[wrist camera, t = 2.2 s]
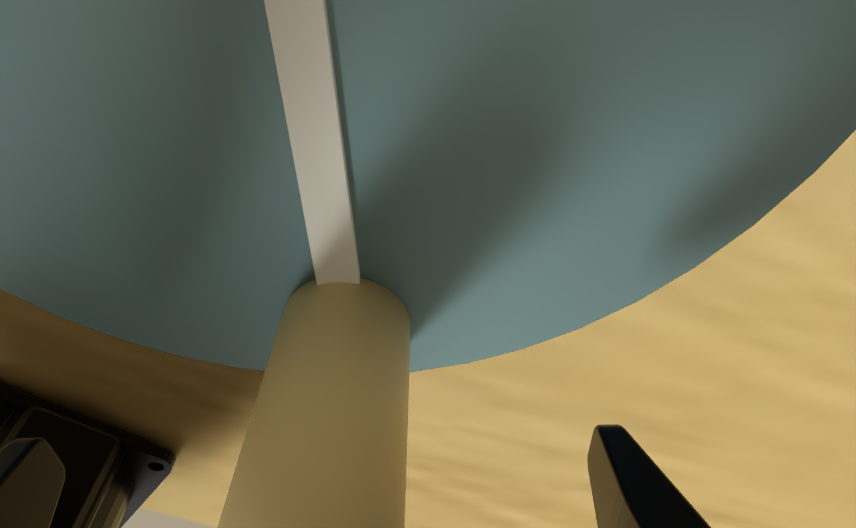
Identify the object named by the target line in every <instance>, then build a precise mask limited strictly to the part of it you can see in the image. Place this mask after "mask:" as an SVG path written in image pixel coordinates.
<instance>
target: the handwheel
mask: <svg viewBox="0 0 856 528" xmlns="http://www.w3.org/2000/svg"><path fill="white" fill-rule="evenodd" d="M855 130H856V0H0V289H1V290H3V291H5V292H7V293H9V294H11V295H14V296H16V297H18V298H20V299H22V300H24V301H26V302H29V303H31V304H33V305H35V306H37V307H39V308H41V309H44V310H46V311H48V312H50V313H52V314H54V315H57V316H59V317H62V318H65V319H67V320H70V321H73V322H75V323H78V324H81V325H83V326H86V327H89V328H91V329H94V330H97V331H99V332H102V333H105V334H107V335H110V336H113V337H115V338H118V339H121V340H125V341H128V342H132V343H135V344H139V345H142V346H146V347H149V348H153V349H156V350H160V351H163V352H167V353H170V354H174V355H177V356H181V357H186V358H191V359H196V360H201V361H206V362H211V363H216V364H221V365H226V366H231V367H236V368H242V369H251V370H260V371H265V372H264V376H263V379H262V382H261V386H260V389H259V392H258V396H257V399H256V402H255V405H254V409H253V412H252V415H251V419H250V422H249V425H248V429H247V432H246V435H245V439H244V442H243V445H242V449H241V452H240V455H239V458H238V462H237V465H236V468H235V472H234V475H233V478H232V482H231V485H230V488H229V492H228V495H227V498H226V502H225V505H224V508H223V511H222V515H221V518H220V521H219V525H218V528H404V523H405V491H406V458H407V426H408V393H409V372H415V371H422V370H428V369H434V368H440V367H447V366H453V365H459V364H465V363H470V362H474V361H478V360H481V359H485V358H489V357H493V356H497V355H501V354H505V353H509V352H513V351H517V350H520V349H524V348H527V347H529V346H532V345H535V344H538V343H541V342H543V341H546V340H549V339H552V338H555V337H557V336H560V335H563V334H566V333H568V332H571V331H574V330H577V329H580V328H582V327H584V326H586V325H588V324H590V323H592V322H594V321H597V320H599V319H601V318H603V317H605V316H607V315H609V314H612V313H614V312H616V311H618V310H620V309H622V308H624V307H626V306H629V305H631V304H633V303H635V302H637V301H639V300H640V299H642V298H644V297H645V296H647V295H649V294H651V293H652V292H654V291H656V290H657V289H659V288H661V287H662V286H664V285H666V284H668V283H669V282H671V281H673V280H674V279H676V278H678V277H679V276H681V275H683V274H685V273H686V272H688V271H690V270H691V269H693V268H695V267H696V266H697V265H699V264H700V263H702V262H703V261H704V260H706V259H707V258H709V257H710V256H711V255H713V254H714V253H716V252H717V251H718V250H720V249H721V248H722V247H724V246H725V245H727V244H728V243H729V242H731V241H732V240H734V239H735V238H736V237H738V236H739V235H741V234H742V233H743V232H745V231H746V230H747V229H749V228H750V227H752V226H753V225H754V224H755V223H757V222H758V221H759V220H760V219H761V218H762V217H764V216H765V215H766V214H767V213H768V212H769V211H770V210H772V209H773V208H774V207H775V206H776V205H777V204H779V203H780V202H781V201H782V200H783V199H784V198H785V197H787V196H788V195H789V194H790V193H791V192H792V191H794V190H795V189H796V188H797V187H798V186H799V185H800V184H802V183H803V182H804V181H805V180H806V179H807V178H808V177H810V176H811V175H812V174H813V173H814V172H815V171H816V170H817V169H818V168H819V167H820V166H821V165H822V164H823V163H824V162H825V161H826V160H827V159H828V158H829V157H830V156H831V155H832V154H833V153H834V152H835V151H836V150H837V149H838V147H839V146H840V145H841V144H842V143H843V142H844V141H845V140H846V139H847V138H848V137H849V136H850V135H851V134H852V133H853V132H854V131H855Z"/></svg>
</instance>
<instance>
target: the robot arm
mask: <svg viewBox="0 0 856 528" xmlns="http://www.w3.org/2000/svg"><path fill="white" fill-rule="evenodd" d="M175 460H176V456H175V454H174V453H173V452H172V451H170V450H168V449H166V448H163V447H161V446H158V445H156V444H153V443H150V442H148V441H145V440H143V439H140V438H138V437H135V436H133V435H130V434H127V433H125V432H122V431H120V430H117V429H115V428H112V427H110V426H107V425H104V424H102V423H99V422H97V421H94V420H92V419H89V418H87V417H84V416H81V415H79V414H76V413H74V412H71V411H69V410H66V409H64V408H61V407H58V406H56V405H53V404H51V403H48V402H46V401H43V400H41V399H38V398H35V397H33V396H30V395H28V394H25V393H23V392H20V391H18V390H15V389H12V388H10V387H7V386H5V385H2V384H0V528H121V527H122V526H123V525H124V523H126V521H127V520H128V519H129V518H130V517H131V516H132V515H133V514H134V513H135V511H136V510H137V509H138V508H139V507H140V506H141V505H142V504H143V502H144V501H145V500H146V499H147V498H148V497H149V496H150V495H151V494H152V492H153V491H154V490H155V489H156V488H157V487H158V486H159V485H160V483H161V482H162V481H163V480H164V479H165V478H166V477H167V476H168V475H169V473H170V472H171V470H172V468H173V465H174V463H175ZM588 471H589V477H590V483H591V489H592V495H593V501H594V507H595V513H596V519H597V525H598V528H711V527H710V526H709V525H708V523H707V522H706V521H705V520H704V519H703V518H702V517H701V515H700V514H699V513H698V512H697V511H696V510H695V509H694V507H693V506H692V505H691V504H690V503H689V502H688V501H687V499H686V498H685V497H684V496H683V495H682V494H681V492H680V491H679V490H678V489H677V488H676V487H675V486H674V484H673V483H672V482H671V481H670V480H669V479H668V478H667V476H666V475H665V474H664V473H663V472H662V471H661V470H660V468H659V467H658V466H657V465H656V464H655V463H654V462H653V460H652V459H651V458H650V457H649V456H648V455H647V454H646V452H645V451H644V450H643V449H642V448H641V447H640V445H639V444H638V443H637V442H636V441H635V440H634V439H633V437H632V436H631V435H630V434H629V433H628V432H627V431H626V429H625V428H623V427H622V426H620V425H617V424H615V425H597V426H596V427H595V428H594V431H593V435H592V439H591V444H590V448H589V452H588Z"/></svg>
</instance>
